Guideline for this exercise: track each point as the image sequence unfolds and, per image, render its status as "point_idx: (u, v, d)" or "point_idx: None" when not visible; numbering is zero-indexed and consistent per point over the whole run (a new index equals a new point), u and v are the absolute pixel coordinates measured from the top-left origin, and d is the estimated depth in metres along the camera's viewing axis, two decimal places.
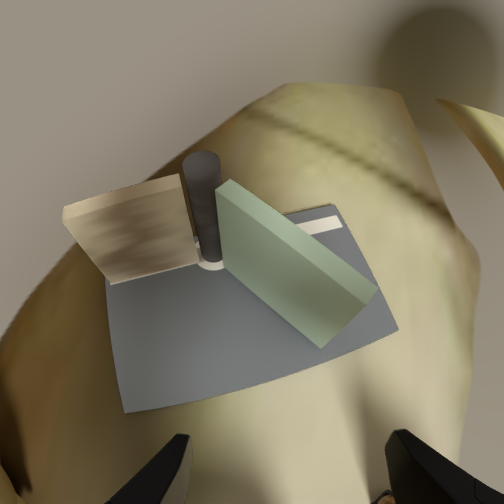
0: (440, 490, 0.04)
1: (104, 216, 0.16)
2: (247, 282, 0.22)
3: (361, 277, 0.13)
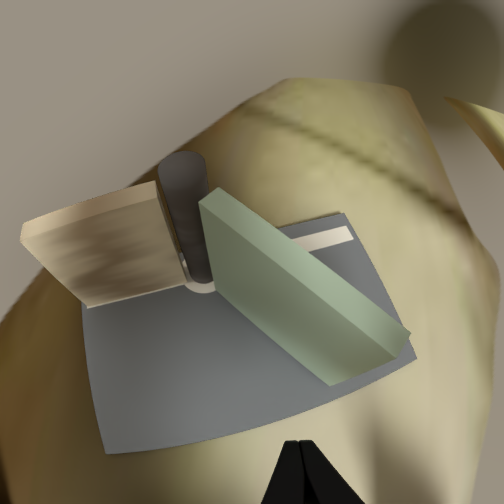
0: None
1: (67, 235, 0.13)
2: (242, 310, 0.18)
3: (390, 320, 0.10)
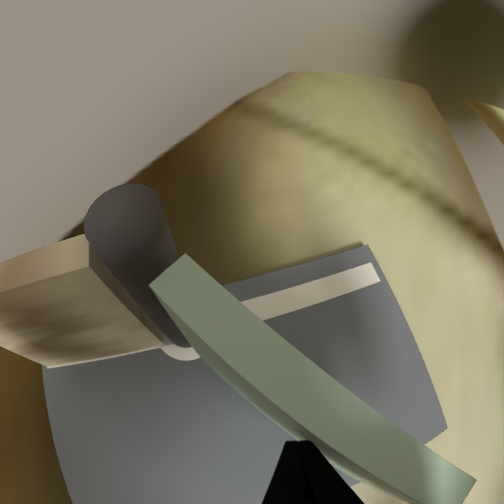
0: None
1: None
2: (236, 390, 0.13)
3: (455, 473, 0.04)
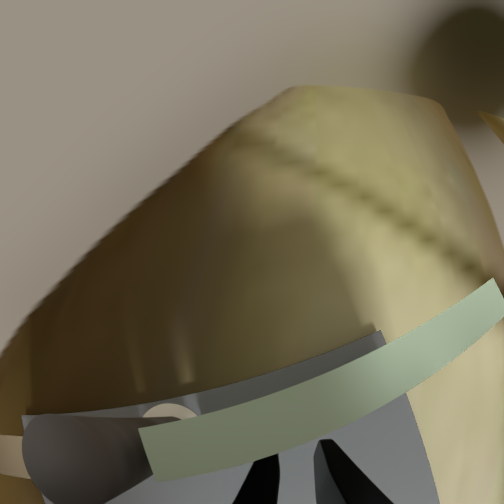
0: None
1: None
2: None
3: (479, 293, 0.06)
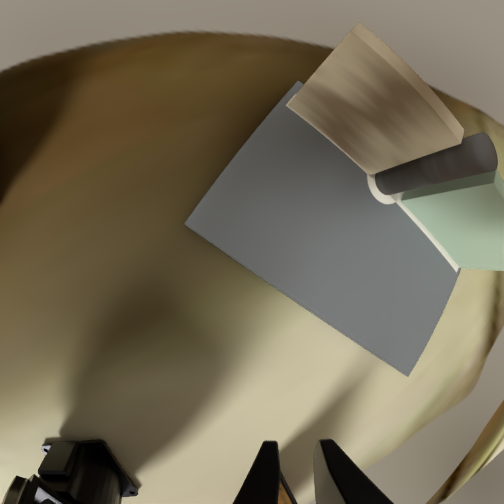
0: None
1: (387, 76, 0.11)
2: (425, 220, 0.20)
3: None
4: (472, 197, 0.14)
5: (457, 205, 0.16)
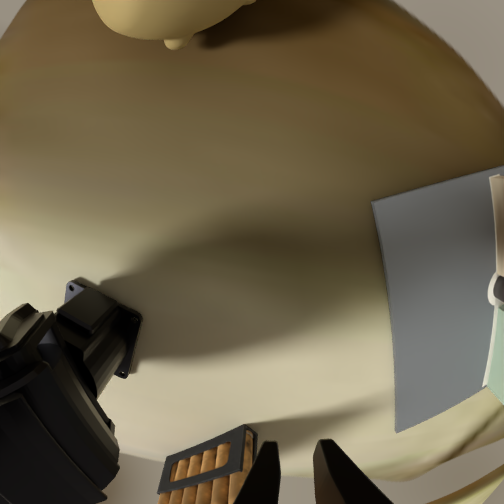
0: None
1: None
2: (500, 335, 0.18)
3: None
4: None
5: None
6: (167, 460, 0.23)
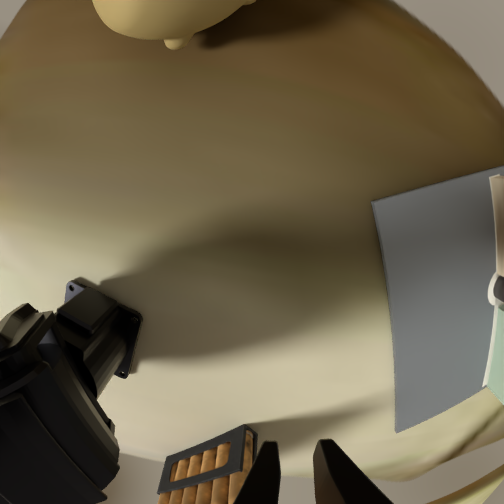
0: None
1: None
2: (500, 335, 0.18)
3: None
4: None
5: None
6: (167, 460, 0.23)
